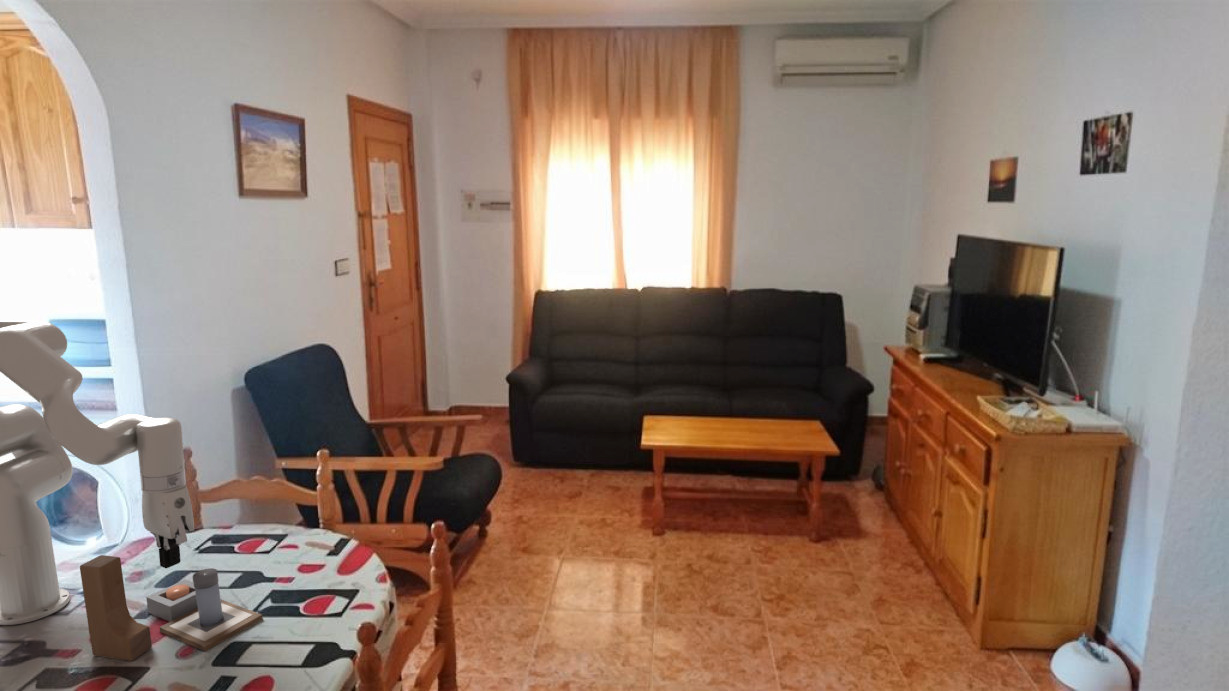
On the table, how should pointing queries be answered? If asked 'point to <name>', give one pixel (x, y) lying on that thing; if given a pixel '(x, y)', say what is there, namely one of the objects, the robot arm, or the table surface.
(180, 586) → the button
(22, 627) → the table surface
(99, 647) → the wooden block
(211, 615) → the grey capped shaker
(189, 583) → the button housing
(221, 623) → the picture frame
